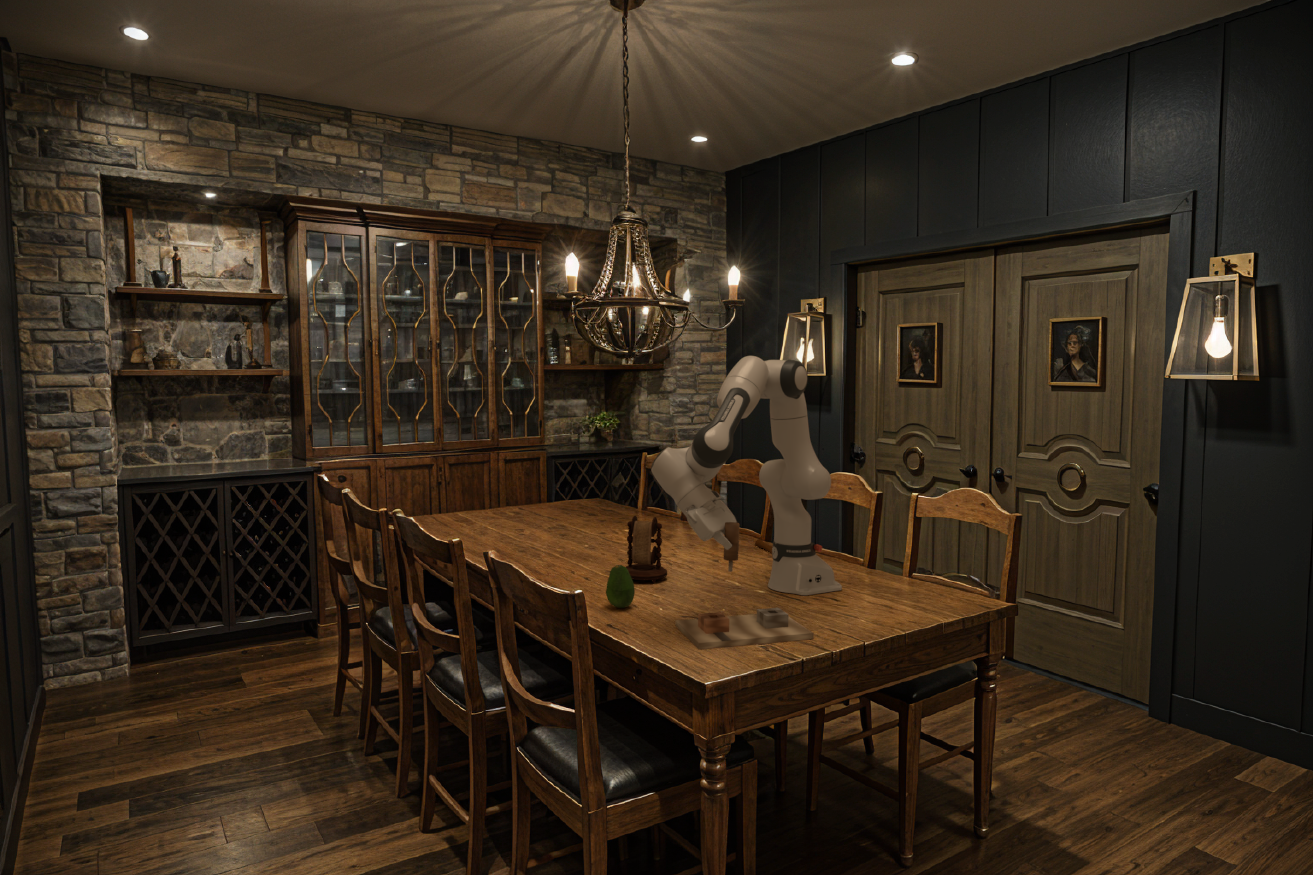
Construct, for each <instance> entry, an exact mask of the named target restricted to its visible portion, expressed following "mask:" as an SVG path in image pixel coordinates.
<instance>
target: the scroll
mask: <svg viewBox="0 0 1313 875" xmlns="http://www.w3.org/2000/svg"><path fill="white" fill-rule="evenodd" d="M658 521H659V520H658V518H657V517H656V516H654V517H652V521H643V520H638V517H637V515H633V517H632V518H631V520H630V521H627V524H626V525H627V526H628V527H627V529H628V531H627V537H626V542H627V543H628V546H627V552H626V555H627V558H628V560H627V566H625V567H626V568H627V570H628V571H629V574H630V576H631V578H632V580H633V581H634V580H635V581H651V582H652V585H653V584H656V581H657V580H659V579H660V580H661V579H663V578H666V577H667V576H668V570H667V569H666V568H665V567H663V566H662V562H661V560H662V559H661V558H662V553H661V551H662V547H661V546H662V543H663V538H662V533H661V532H662V528H663V525H662V523H660V522H658ZM655 535H656V537H655ZM654 537H655V538H654ZM654 543H655V544H656V545H654V546H653V547H652V544H654ZM651 549H652V550H651Z"/></svg>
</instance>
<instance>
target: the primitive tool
mask: <svg viewBox="0 0 1313 875" xmlns="http://www.w3.org/2000/svg"><path fill="white" fill-rule="evenodd" d="M754 546H755V547H756V546H758V547H760V548H759V549H762V548H763V549H765V550H764V551H766V552H767V551H768V553H769V552H770V554H771V555H772V548H773V545H772V546H771V545H770V544H768V543H766V542H764V541H763V539H760V538H759V539H756V540H755V542H754ZM758 547H757V548H758ZM763 549H762V550H763Z"/></svg>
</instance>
